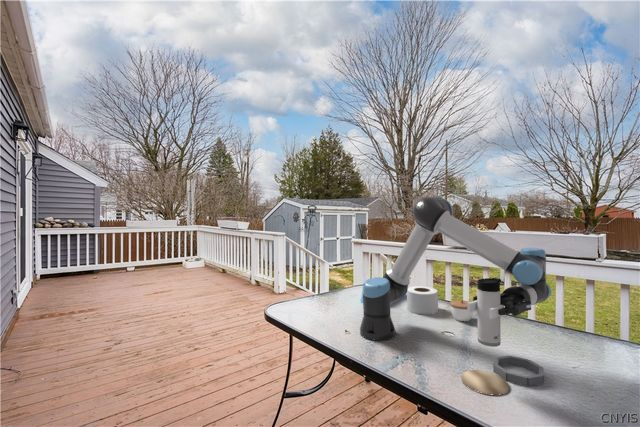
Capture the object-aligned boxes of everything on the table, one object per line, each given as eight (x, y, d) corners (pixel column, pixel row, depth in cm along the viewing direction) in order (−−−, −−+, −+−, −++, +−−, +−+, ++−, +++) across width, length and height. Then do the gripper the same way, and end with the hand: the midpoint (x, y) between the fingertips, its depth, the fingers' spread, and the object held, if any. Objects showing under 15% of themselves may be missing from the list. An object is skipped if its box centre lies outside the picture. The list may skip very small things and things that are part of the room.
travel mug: (502, 348, 93) (502, 282, 92) (477, 344, 96) (477, 280, 95) (500, 340, 98) (500, 277, 98) (477, 336, 101) (476, 275, 101)
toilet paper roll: (440, 307, 168) (440, 287, 168) (434, 316, 155) (433, 295, 155) (411, 303, 177) (411, 284, 176) (403, 311, 163) (402, 291, 163)
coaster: (480, 398, 89) (480, 396, 89) (452, 374, 102) (452, 372, 102) (519, 391, 92) (519, 389, 92) (487, 369, 105) (487, 367, 105)
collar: (516, 388, 94) (516, 380, 94) (484, 365, 107) (484, 358, 107) (555, 382, 96) (554, 374, 96) (519, 360, 110) (519, 353, 109)
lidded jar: (446, 316, 155) (445, 297, 155) (466, 314, 156) (466, 296, 156) (457, 324, 144) (457, 304, 144) (479, 322, 145) (479, 302, 145)
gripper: (551, 316, 98) (512, 333, 86) (491, 301, 115) (451, 314, 102) (551, 292, 98) (512, 306, 86) (490, 280, 114) (450, 291, 102)
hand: (479, 310), depth 94 cm, fingers closed on travel mug, 6 cm apart
